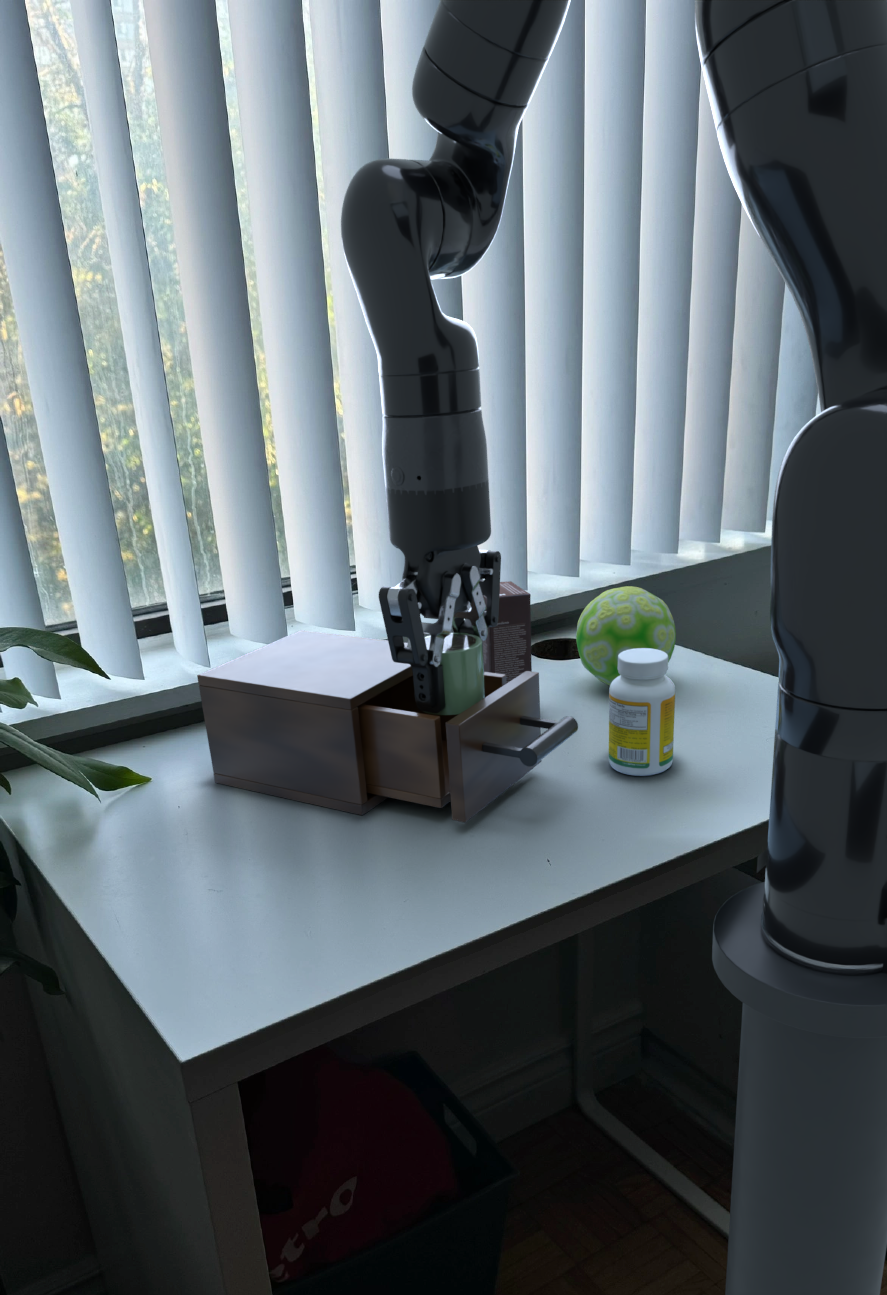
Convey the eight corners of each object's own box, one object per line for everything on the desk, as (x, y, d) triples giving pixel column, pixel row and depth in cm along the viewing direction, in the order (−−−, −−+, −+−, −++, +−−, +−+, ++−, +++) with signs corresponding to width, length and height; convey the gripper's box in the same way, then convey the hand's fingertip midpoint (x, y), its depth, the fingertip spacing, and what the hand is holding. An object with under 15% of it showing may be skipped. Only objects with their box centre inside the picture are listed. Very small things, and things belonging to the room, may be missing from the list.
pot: (498, 696, 86) (494, 636, 84) (463, 719, 82) (459, 656, 80) (440, 688, 88) (436, 629, 86) (404, 710, 84) (398, 649, 82)
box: (536, 717, 103) (532, 592, 98) (490, 724, 102) (484, 598, 97) (516, 697, 108) (511, 578, 103) (473, 703, 107) (466, 584, 102)
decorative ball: (556, 686, 110) (554, 589, 106) (626, 663, 115) (626, 570, 111) (626, 709, 103) (626, 607, 99) (697, 684, 108) (700, 585, 104)
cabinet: (452, 753, 96) (445, 647, 92) (362, 815, 85) (350, 699, 81) (313, 728, 104) (300, 629, 100) (214, 782, 93) (196, 675, 89)
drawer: (593, 770, 88) (593, 678, 85) (521, 835, 78) (517, 734, 75) (398, 736, 98) (390, 653, 94) (312, 790, 88) (300, 699, 85)
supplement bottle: (623, 781, 88) (623, 669, 84) (599, 757, 93) (598, 650, 89) (684, 771, 89) (687, 660, 85) (657, 748, 94) (659, 641, 90)
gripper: (426, 496, 71) (444, 736, 78) (528, 462, 81) (536, 675, 88) (335, 493, 74) (360, 722, 81) (444, 461, 85) (458, 666, 92)
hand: (451, 697), depth 85 cm, fingers closed on pot, 5 cm apart
